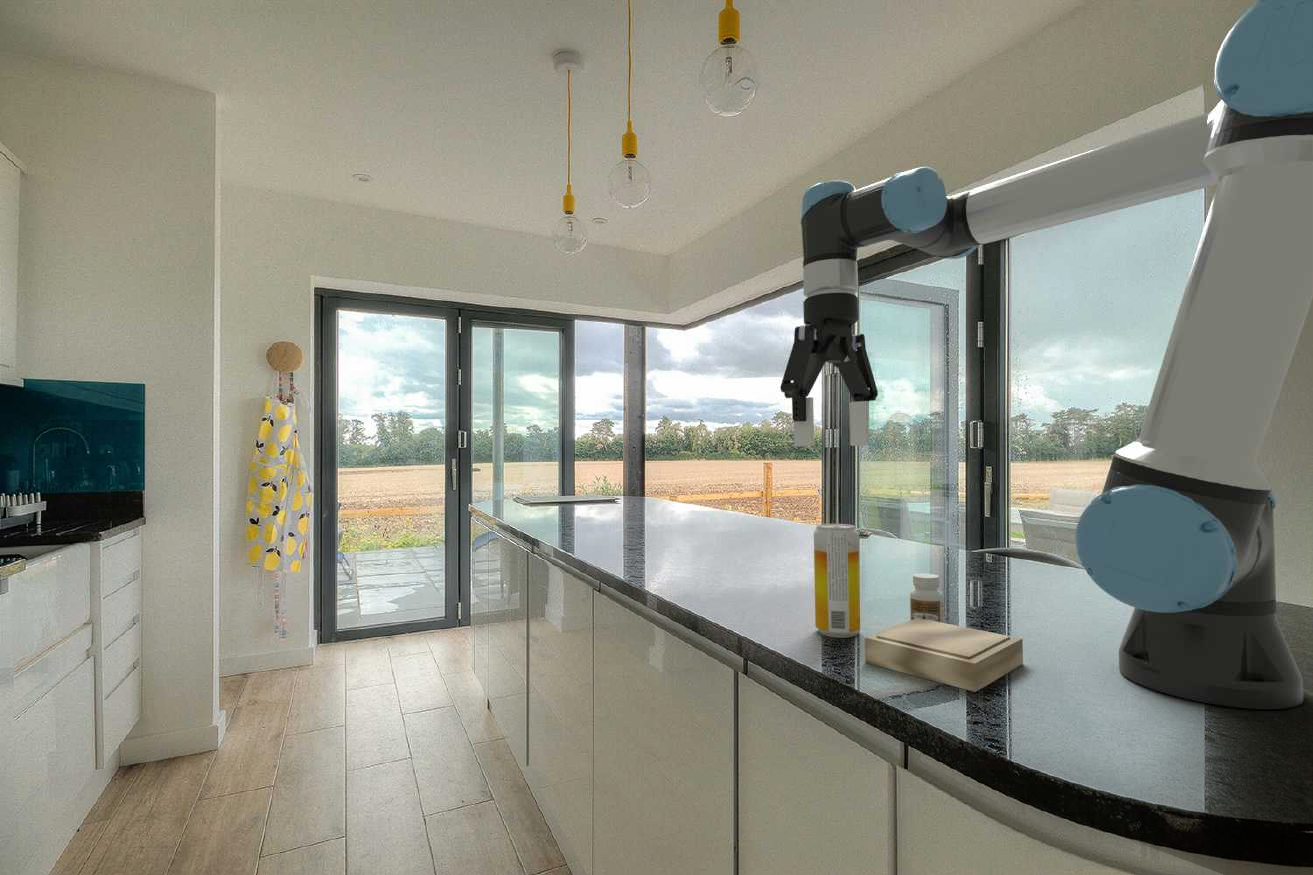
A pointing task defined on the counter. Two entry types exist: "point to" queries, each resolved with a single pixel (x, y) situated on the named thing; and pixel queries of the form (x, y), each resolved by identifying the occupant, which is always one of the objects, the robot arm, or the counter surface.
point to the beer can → (837, 580)
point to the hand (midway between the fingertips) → (833, 446)
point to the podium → (945, 653)
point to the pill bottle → (926, 598)
